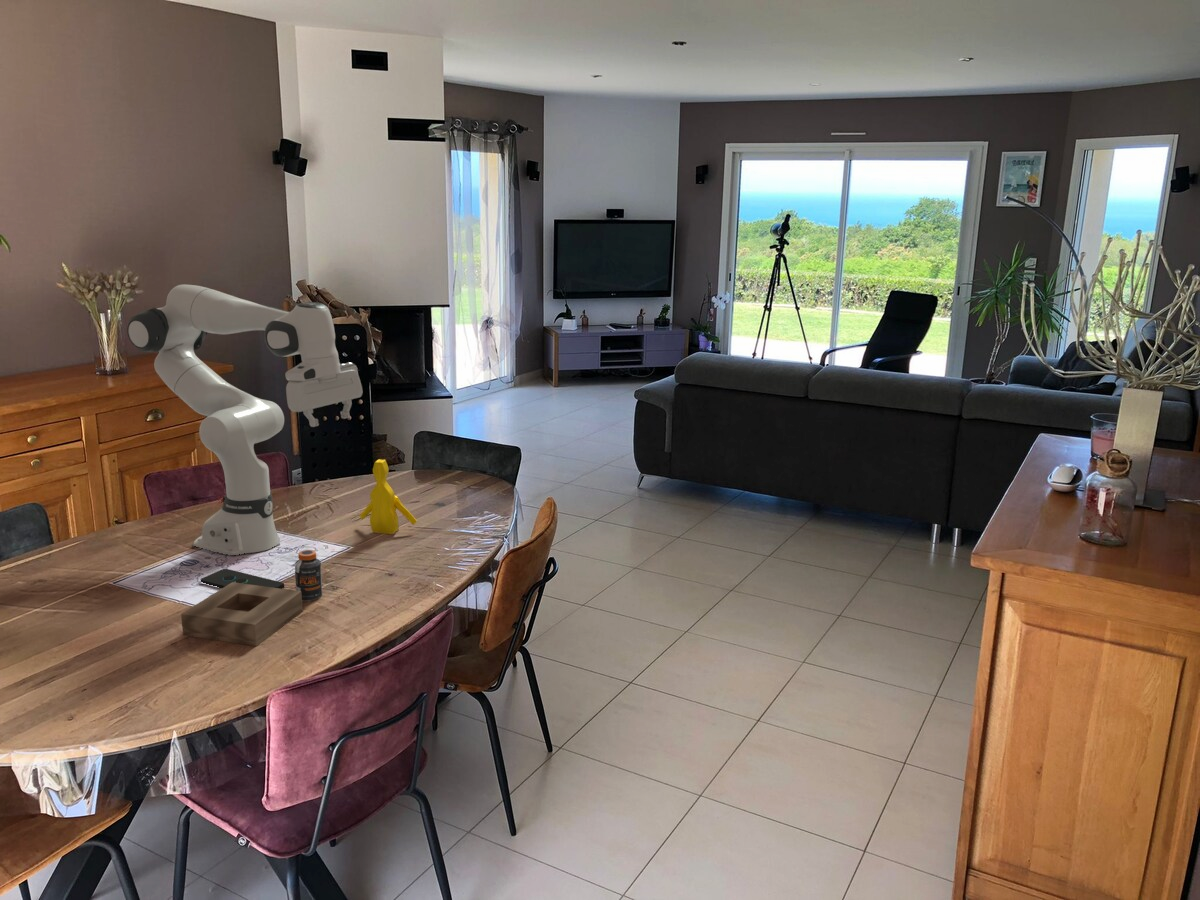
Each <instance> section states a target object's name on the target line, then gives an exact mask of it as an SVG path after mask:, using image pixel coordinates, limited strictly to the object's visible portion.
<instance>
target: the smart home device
mask: <svg viewBox="0 0 1200 900" xmlns="http://www.w3.org/2000/svg"><path fill="white" fill-rule="evenodd" d="M201 582H203V583H206V584H209V585H213V586H217V587H219V588H224V587H225V586H227V585H229V584H230V583H232V582H235V583H242V584H250V585H257V586H264V587H272V588H279V589H282V588H283V589H284V588H285V583H284V582H283V581H282V582H281V581H279V580H278V581H277V580H274V579H270V578H266V577H262V576H257V575H253V574H249V573H245V572H242V571H237V570H233V569H229V568H222V569H220V570H218V571H215V572H213V573H211V574H208V575H206V576H203V577H202V578H200V583H201ZM219 588H218V589H219Z"/></svg>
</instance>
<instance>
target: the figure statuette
mask: <svg viewBox="0 0 1200 900" xmlns="http://www.w3.org/2000/svg"><path fill="white" fill-rule="evenodd" d="M389 470H390V469H389V466H388V463H387V461H386V459H377V460H376V461H375V462H374V464H373V468H372V474H373V477H374V479H375V480H376V484H375V486H374V487H373V488H372V490H371V491H370V493H369V496H370V497H369V498H370V502H369V504H368V505H367V506H366V507H365V509H364V510H363V511H362V512H361V514H360V515H359V517H360V519H361V520H364V519H365V518H366V517H367V516H368V515H370V517H369V524H370V528H371V531H372V532H373V533H374V534H383V535H384V534H385V535H394V534H395V533H396V532H398V531H399V530H400V528H399V518H398V514H397V511H399V512H400V513H401V514H402V515H403V516H404V517H405V518H406V520H408V521H409V523H411V525H413V526H414V525H415V524H416V523H418V520H417V519H416V518H415V516H414V515H413V514H412V513H411V512H410V511H409V509H407V508H406V507H405V505H404V504H403V503H402V502H401V500H400V498H399V497H398V496H397V495H395V492H394V490H393V488H392V487H391V486H390V485H389V483H388V481H387V477H388V474H389Z"/></svg>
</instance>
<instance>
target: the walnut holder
mask: <svg viewBox="0 0 1200 900" xmlns="http://www.w3.org/2000/svg"><path fill="white" fill-rule="evenodd" d="M302 612H303V600H302V593H301V591H296V590H292V589H286V588H285V589H284V588H283V589H279V588H272V587H264V586H257V585H250V584H242V583H235V582H232V583H230V584H229V585H227V586H225V587H224V588H222V589H219V590H217V591H216V592H214V593H213V594H210V595H209V596H208V597H206V598H204V599H203V600H201V601H200V602H198V603H196V604H195V605H193V606H192V607H190V608H188V609H187V610H185V611H183V612H181V613H180V616H181V617H180V619H181V626H182V627H181V629H182V635H183V636H186V635H188V636H187V637H192V636H193V637H194V638H195V637H196V638H200V639H206V640H213V641H219V642H227V643H234V644H241V645H245V646H246V645H247V646H252V647H257V646H259V645H261V644H262V643H263V642H265V641H266V640H267V639H268V638H269V637H271V636H272V635H273V634H275V633H277V631H279V630H280V629H281V628H283V627H284V626H285V625H287V624H288V623H289V622H291V621H293V619H295V618H296V617H297V616H299V615H301V614H302Z"/></svg>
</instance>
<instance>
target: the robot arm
mask: <svg viewBox="0 0 1200 900" xmlns="http://www.w3.org/2000/svg"><path fill="white" fill-rule="evenodd" d="M332 317H333V316H332V314H331V312H330V309H329V307H328V306H327V305H326V304H324V303H322V302H321V303H320V302H318V301H317V302H316V301H305V302H304V301H303V302H300V303H297V304H296V305H294V308H293V309H292V310H291V311H290V310H289V311H288V310H285V309H282V308H277V307H274V306H270V305H265V304H260V303H257V302H253V301H251V300H247V299H243V298H239V297H237V296H235V295H232V294H228V293H225V292H222V291H219V290H216V289H212V288H209V287H205V286H202V285H194V284H184V283H183V284H178V285H176V286H174V287H173V288H172V289H171V290H170V291H169V292H168V294H167V297H166V303H165V305H164V306H162V307H158V308H156V307H151V308H148V309H147V310H143V311H140V312H138V313H137V314H134V315H133V316H131V318H130V319H129V321H128V322H127V325H126V332H127V337H128V339H129V341H130V343H131V345H133V347H134V348H135V349H137V350H139V351H140V352H144V353H156V352H158V354H157V356H155V358H154V363H153V366H154V371H155V372H156V374H157V375H158V376H159V378H160V379H161V380H162V381H163V383H164V384H165V386H167V387H168V388H169V389H170V391H172V392H173V393H174V394H175V396H177V397H178V398H179V399H181V400H182V401H183V403H185V404H186V405H187V406H189V408H191V410H193V411H194V412H195V413H197V414H199V415H202V416H205V418H204V419H202V420H201V422H200V425H199V428H198V429H199V430H198V433H199V438H200V440H201V442H202V444H203V446H205V448H206V449H208V450H209V451H211V452H212V453H214V454H215V456H216V457H217V458H218V459H219V461H220V463H221V467H222V470H223V473H224V474H223V476H224V482H225V490H226V491H225V492H226V493H225V495H224V496H222V497H221V498H220V499H217V501H218V505H219V504H221V503H222V505H221V508H220V509H219V510H218V511H216V512H215V513H214V514H212V515H211V516H210V517H209V518H208V519H206V520H205V521H204V523H203V525H202V530H201V535H200V536H199V537H197V538H195V540H194V541H193V547H194V546H196V547H200V548H199V549H201V548H203V549H202V550H205V549H207V550H206V551H209V550H212V551H211V552H213V551H215V552H214V553H217V552H219V553H218V554H221V553H224V554H223V555H226V554H228V555H227V556H230V555H236V556H239V554H240V555H245V554H249V553H251V554H252V553H258V552H263V551H266V550H267V551H268V550H270V549H273V548H275V547H276V546H278V545H279V544H280V542H281V540H280V537H279V535H278V532H277V528H276V525H275V520H274V513H273V511H274V510H273V509H274V502H273V493H272V491H271V486H270V471H269V465H268V464H267V463H266V462H264V461H263V460H262V459H259V458H258V457H257V455H256V452H255V448H254V447H255V446H254V445H255V444H258V443H262V442H264V441H267V440H269V439H271V438H272V437H274V436H276V435H277V434H278V433H280V431H282V430H283V428H284V425H285V415H284V412H283V410H282V408H281V407H280V406H279V404H277V403H276V402H274V401H271V400H267V399H262V398H259V397H256V396H254V395H252V394H250V393H248V392H246V391H243V390H241V389H239V388H238V387H236V386H234V385H233V384H231V383H229V382H227V381H226V380H225V379H224V378H222V376H220V375H219V374H218V373H216V372H215V371H214V370H213V369H212V368H211V367H209V365H207V364H206V363H204V361H202V360H201V359H200V358H199V357H198V356H197V355H196V353H195V351H197V350H199V349H201V347H202V346H203V345H204V344H203V343H204V340H205V338H206V337H207V335H208V333H209V334H214V335H216V334H217V335H231V334H238V333H244V332H251V331H264V337H263V338H264V342H265V346H266V347H267V349H268V351H270V352H271V353H272V354H273V355H274V356H276V357H283V358H284V357H286V358H287V357H292V356H296V355H300V358H301V362H300V363H298V364H297V365H296V366H294V367H292V368H291V369H289V370H287V371H286V372H285V375H284V376H285V379H286V380H287V381H288V383H287V384H286V386H285V392H286V393H285V394H286V402H287V407H288V409H289V410H290V411H291V412H294V413H301V412H303V415H304V416H305V417H306V419H308V422H309V423H308V424H309V426H310V427H311V428H315V427H318V426H319V425H320V423H319V419H318V418H315V417H314V416H313V414H314V409H317V408H318V409H319V408H323V407H325V406H330V405H333V404H334V405H335V404H337V403H342V404H343V409H342V410H341V411H340V417H341V419H343V420H345V419H349V418H350V417H351V416H350V411H351V408H352V405H353V403H352V400H354V399H358V398H361V397H362V396H363V394H364V393H363V392H364V391H363V385H362V383H361V382H362V381H361V379H360V376H359V372H358V367H357V365H356V364H355V363H353V362H349V361H348V362H346V363H341V362H340V359H339V358H340V357H339V352H338V350H337V347H336V332H335V326H334V325H335V324H334V321H333V318H332ZM274 546H275V547H274ZM196 547H195V548H196ZM272 547H273V548H272ZM244 553H245V554H244Z"/></svg>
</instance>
